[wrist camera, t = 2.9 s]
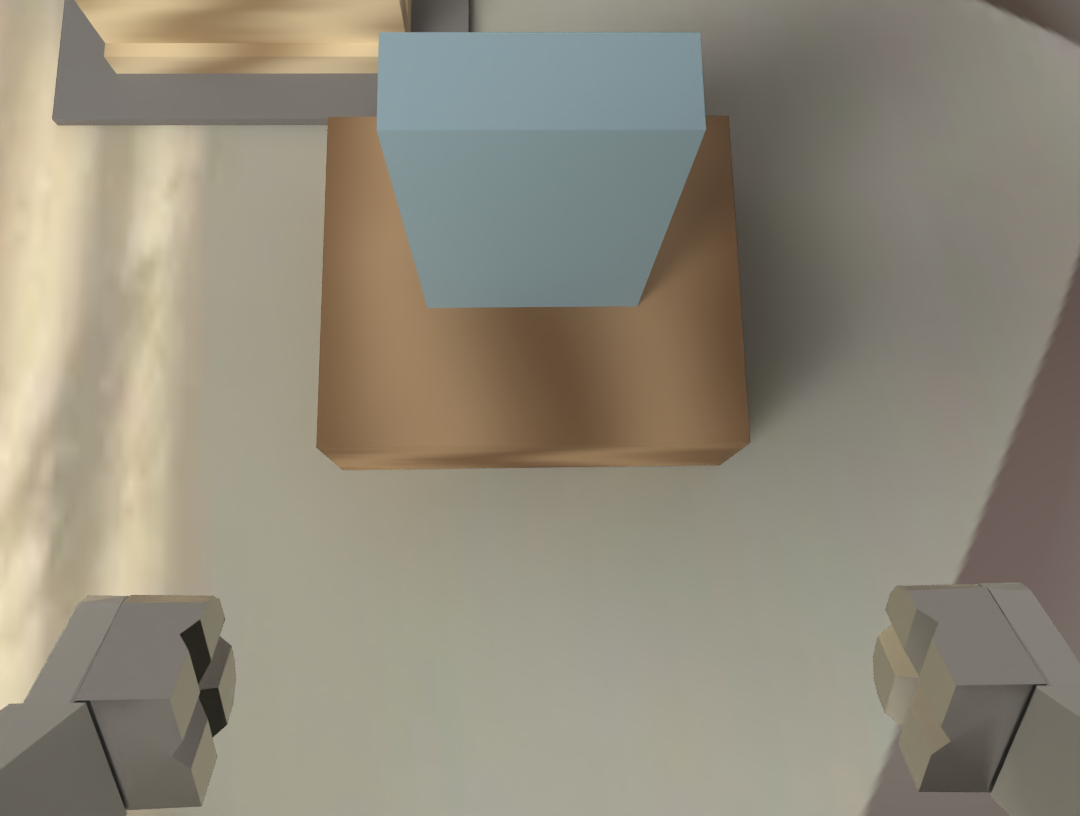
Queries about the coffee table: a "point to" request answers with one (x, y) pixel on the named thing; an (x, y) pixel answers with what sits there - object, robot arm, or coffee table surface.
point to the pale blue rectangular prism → (538, 159)
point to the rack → (244, 35)
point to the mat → (216, 84)
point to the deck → (526, 343)
